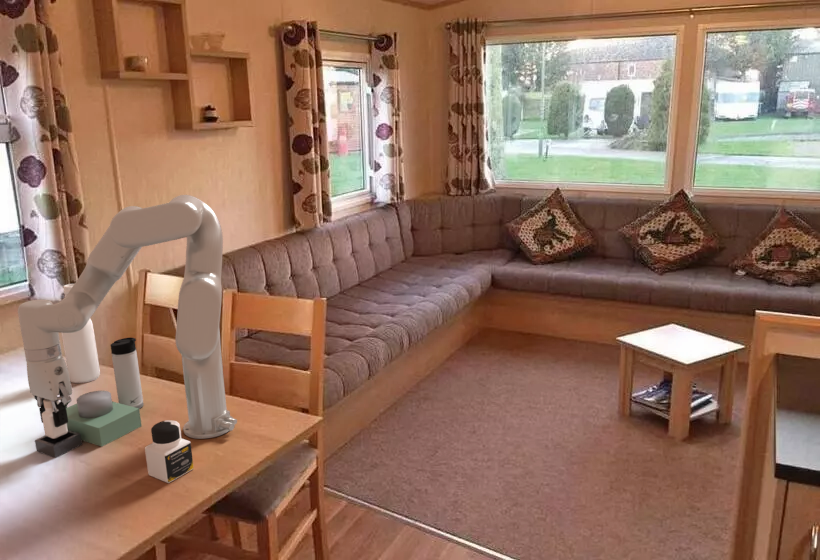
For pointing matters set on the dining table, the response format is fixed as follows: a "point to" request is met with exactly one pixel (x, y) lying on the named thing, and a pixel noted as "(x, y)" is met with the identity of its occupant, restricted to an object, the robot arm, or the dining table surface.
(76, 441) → the dark brown square tray
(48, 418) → the pepper shaker
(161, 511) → the dining table surface
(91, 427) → the green slab with dome
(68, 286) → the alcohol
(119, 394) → the travel mug
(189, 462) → the medicine bottle
